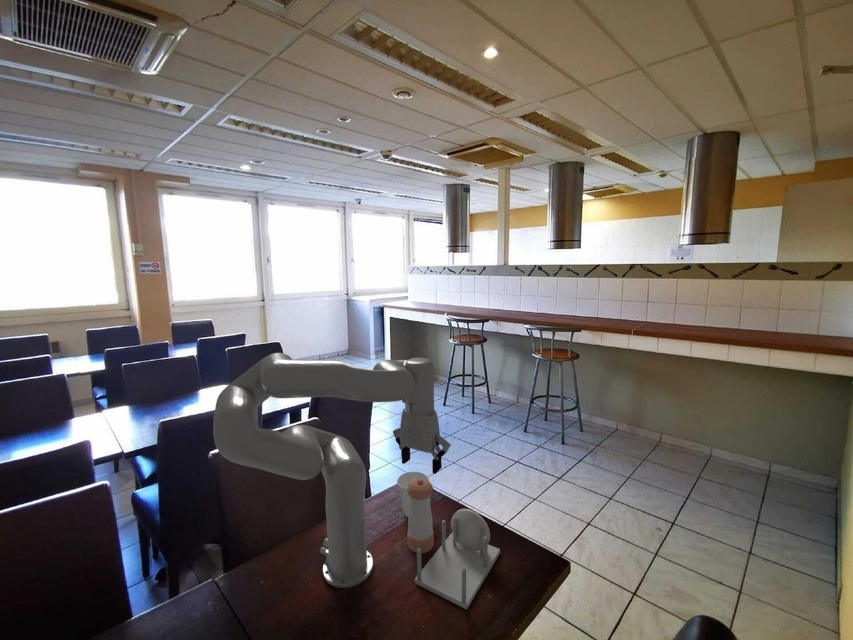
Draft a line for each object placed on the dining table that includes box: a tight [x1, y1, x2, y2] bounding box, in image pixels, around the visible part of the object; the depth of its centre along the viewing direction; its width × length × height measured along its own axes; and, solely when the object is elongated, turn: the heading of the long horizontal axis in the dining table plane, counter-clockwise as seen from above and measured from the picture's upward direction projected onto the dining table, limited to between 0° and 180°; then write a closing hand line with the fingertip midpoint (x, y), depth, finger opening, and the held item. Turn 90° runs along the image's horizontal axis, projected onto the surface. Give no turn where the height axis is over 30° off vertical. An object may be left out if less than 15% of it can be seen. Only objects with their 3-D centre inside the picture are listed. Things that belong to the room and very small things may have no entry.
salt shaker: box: [406, 479, 435, 554], centre depth 108 cm, size 7×7×19 cm
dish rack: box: [414, 508, 501, 610], centre depth 100 cm, size 14×20×12 cm
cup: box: [396, 471, 430, 519], centre depth 122 cm, size 10×10×11 cm
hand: (421, 466), depth 106 cm, fingers open, 9 cm apart
